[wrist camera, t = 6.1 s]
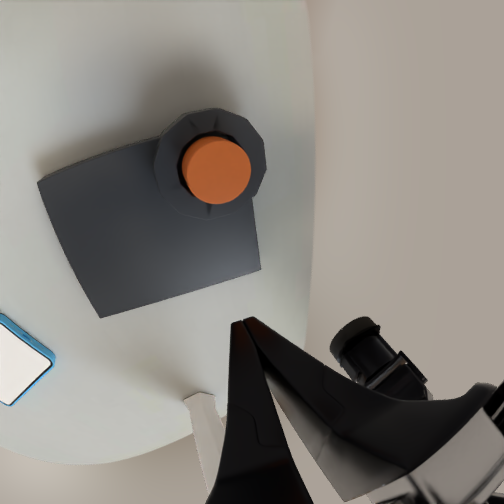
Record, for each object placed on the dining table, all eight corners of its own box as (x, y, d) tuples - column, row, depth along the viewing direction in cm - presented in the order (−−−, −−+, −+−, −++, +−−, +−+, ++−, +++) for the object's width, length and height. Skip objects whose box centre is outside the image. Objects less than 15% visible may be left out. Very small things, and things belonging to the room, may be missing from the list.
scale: (241, 102, 16) (259, 102, 13) (262, 259, 22) (277, 281, 20) (38, 162, 13) (19, 174, 10) (101, 308, 19) (98, 335, 17)
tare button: (234, 130, 14) (247, 134, 12) (242, 184, 16) (254, 195, 14) (176, 143, 13) (180, 149, 12) (188, 198, 15) (193, 211, 13)
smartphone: (58, 362, 19) (10, 408, 19) (59, 353, 20) (11, 400, 20) (-5, 315, 15) (-37, 375, 14) (-1, 306, 15) (-35, 368, 15)
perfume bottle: (173, 406, 28) (206, 518, 16) (193, 388, 28) (235, 510, 16) (202, 412, 31) (239, 513, 19) (223, 396, 30) (268, 503, 18)
